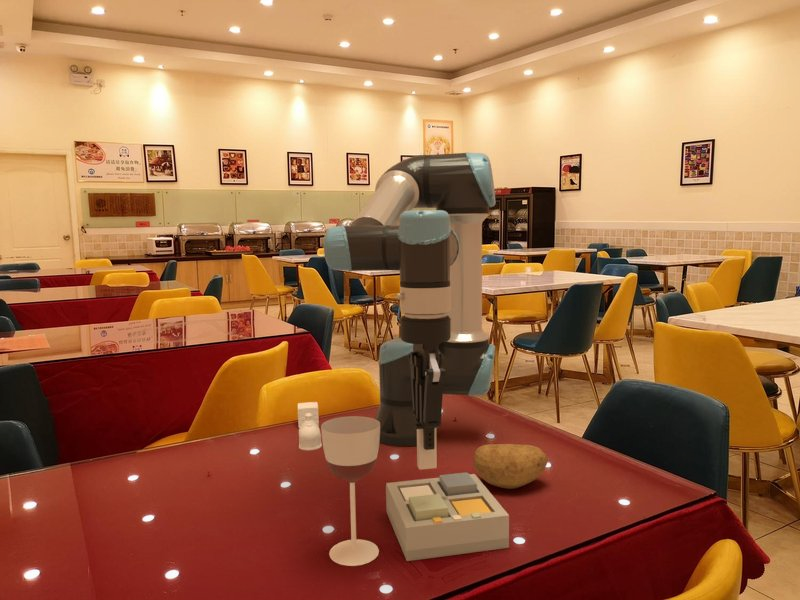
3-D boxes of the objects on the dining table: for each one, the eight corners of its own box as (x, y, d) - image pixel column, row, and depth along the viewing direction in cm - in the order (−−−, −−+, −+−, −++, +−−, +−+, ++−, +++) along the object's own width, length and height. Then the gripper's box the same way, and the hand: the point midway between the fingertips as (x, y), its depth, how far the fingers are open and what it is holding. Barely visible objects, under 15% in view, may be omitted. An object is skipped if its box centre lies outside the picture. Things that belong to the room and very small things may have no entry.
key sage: (408, 512, 95) (408, 497, 95) (439, 509, 96) (439, 493, 96) (416, 527, 90) (416, 511, 90) (448, 524, 92) (448, 507, 91)
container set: (297, 423, 153) (297, 402, 152) (318, 422, 154) (317, 401, 153) (298, 452, 134) (297, 428, 133) (322, 450, 134) (321, 426, 134)
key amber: (451, 517, 97) (451, 501, 97) (480, 513, 98) (480, 498, 98) (460, 532, 92) (460, 516, 92) (491, 528, 93) (491, 512, 93)
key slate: (439, 489, 104) (439, 475, 103) (467, 486, 105) (467, 472, 104) (447, 502, 99) (447, 487, 98) (476, 499, 100) (476, 484, 99)
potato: (554, 495, 109) (555, 453, 108) (477, 498, 109) (477, 455, 108) (539, 473, 119) (540, 434, 118) (469, 476, 119) (469, 436, 118)
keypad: (386, 511, 104) (385, 481, 103) (474, 501, 107) (474, 472, 107) (406, 561, 89) (406, 525, 88) (508, 547, 92) (509, 513, 91)
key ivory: (400, 502, 102) (399, 488, 102) (428, 499, 103) (428, 485, 103) (406, 516, 97) (406, 501, 97) (436, 512, 98) (436, 497, 98)
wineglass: (326, 540, 95) (322, 417, 93) (381, 537, 96) (378, 415, 93) (324, 568, 87) (319, 435, 85) (384, 564, 88) (381, 432, 85)
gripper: (392, 310, 95) (394, 454, 98) (410, 322, 83) (412, 486, 85) (437, 308, 97) (439, 450, 99) (462, 319, 84) (463, 481, 87)
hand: (426, 466), depth 92 cm, fingers closed
